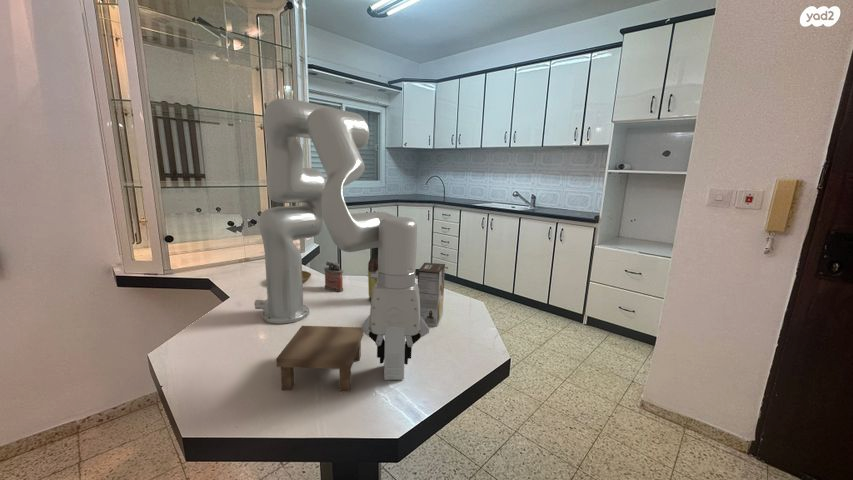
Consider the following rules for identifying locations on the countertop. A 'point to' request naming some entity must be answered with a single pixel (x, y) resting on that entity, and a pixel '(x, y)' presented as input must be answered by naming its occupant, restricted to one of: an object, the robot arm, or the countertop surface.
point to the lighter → (333, 277)
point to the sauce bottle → (372, 270)
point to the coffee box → (431, 292)
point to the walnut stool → (321, 352)
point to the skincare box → (394, 353)
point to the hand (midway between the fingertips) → (394, 359)
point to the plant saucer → (305, 276)
